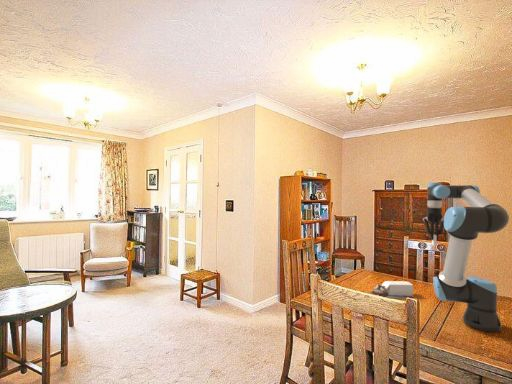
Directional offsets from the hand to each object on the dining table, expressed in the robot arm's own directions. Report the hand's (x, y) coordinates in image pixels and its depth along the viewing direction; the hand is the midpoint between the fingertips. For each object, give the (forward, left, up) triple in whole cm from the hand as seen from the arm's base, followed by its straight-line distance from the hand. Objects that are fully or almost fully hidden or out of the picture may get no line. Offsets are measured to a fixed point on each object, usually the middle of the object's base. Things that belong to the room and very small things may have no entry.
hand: (434, 245), depth 170 cm
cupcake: (-10, +34, -35) cm, 50 cm away
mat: (+8, +21, -34) cm, 41 cm away
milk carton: (+8, +11, -30) cm, 33 cm away
